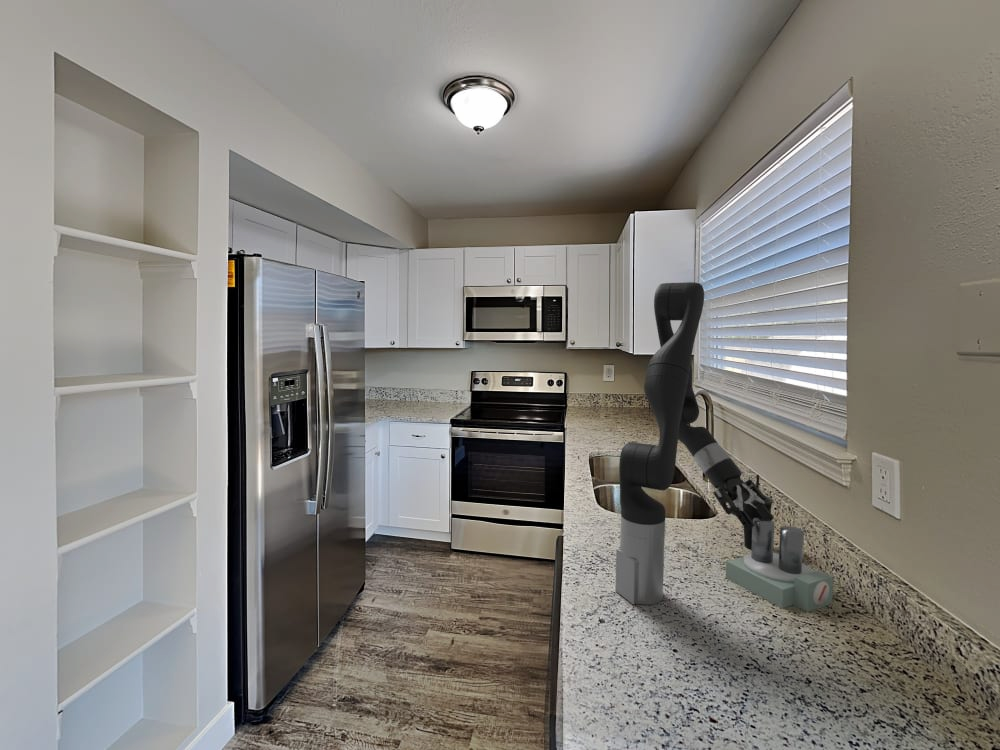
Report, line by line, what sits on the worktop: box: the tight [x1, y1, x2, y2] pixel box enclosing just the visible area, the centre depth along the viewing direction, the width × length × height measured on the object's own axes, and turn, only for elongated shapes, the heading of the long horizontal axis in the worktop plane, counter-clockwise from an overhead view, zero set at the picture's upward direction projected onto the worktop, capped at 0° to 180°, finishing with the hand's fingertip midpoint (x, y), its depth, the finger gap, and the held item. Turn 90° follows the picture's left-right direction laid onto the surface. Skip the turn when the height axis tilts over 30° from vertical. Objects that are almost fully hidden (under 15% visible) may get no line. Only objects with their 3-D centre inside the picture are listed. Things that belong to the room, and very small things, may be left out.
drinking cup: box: [742, 474, 774, 550], centre depth 126 cm, size 8×8×20 cm
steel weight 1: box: [750, 518, 775, 563], centre depth 109 cm, size 4×4×9 cm
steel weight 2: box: [778, 525, 805, 574], centre depth 104 cm, size 4×4×9 cm
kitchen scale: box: [725, 551, 834, 613], centre depth 105 cm, size 15×18×6 cm
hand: (761, 524), depth 109 cm, fingers open, 8 cm apart
